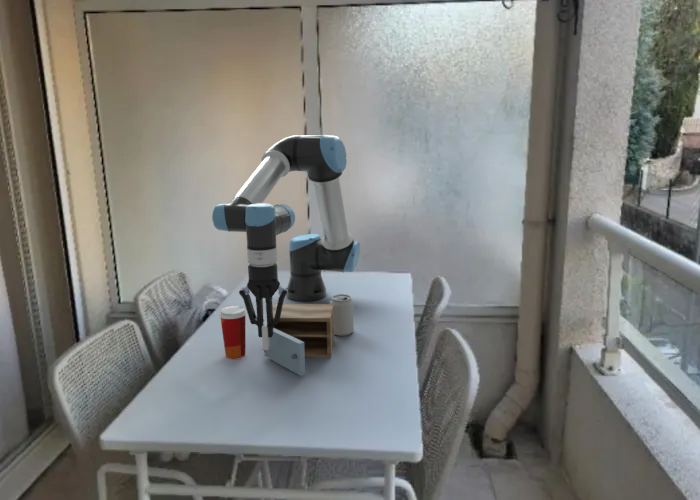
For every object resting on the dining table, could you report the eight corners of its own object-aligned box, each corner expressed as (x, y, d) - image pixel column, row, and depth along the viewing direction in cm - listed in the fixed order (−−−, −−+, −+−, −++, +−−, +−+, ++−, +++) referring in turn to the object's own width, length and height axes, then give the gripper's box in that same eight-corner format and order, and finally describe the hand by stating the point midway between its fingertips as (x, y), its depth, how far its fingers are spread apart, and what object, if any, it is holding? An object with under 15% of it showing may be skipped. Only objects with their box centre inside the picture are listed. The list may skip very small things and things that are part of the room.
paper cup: (239, 347, 171) (236, 303, 167) (254, 355, 165) (251, 309, 162) (216, 355, 165) (213, 310, 162) (231, 363, 160) (228, 316, 157)
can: (351, 337, 177) (350, 301, 174) (327, 336, 178) (327, 299, 176) (355, 328, 184) (355, 293, 181) (333, 327, 186) (332, 292, 183)
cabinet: (276, 340, 175) (274, 303, 173) (334, 340, 175) (333, 303, 172) (268, 356, 164) (266, 317, 161) (331, 357, 163) (330, 318, 160)
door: (267, 353, 164) (265, 323, 162) (305, 373, 151) (304, 342, 149) (259, 355, 162) (257, 326, 160) (297, 376, 149) (296, 344, 147)
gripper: (234, 267, 144) (239, 353, 150) (285, 267, 144) (288, 354, 149) (241, 259, 152) (245, 342, 157) (289, 259, 151) (292, 342, 156)
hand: (266, 348), depth 153 cm, fingers closed
